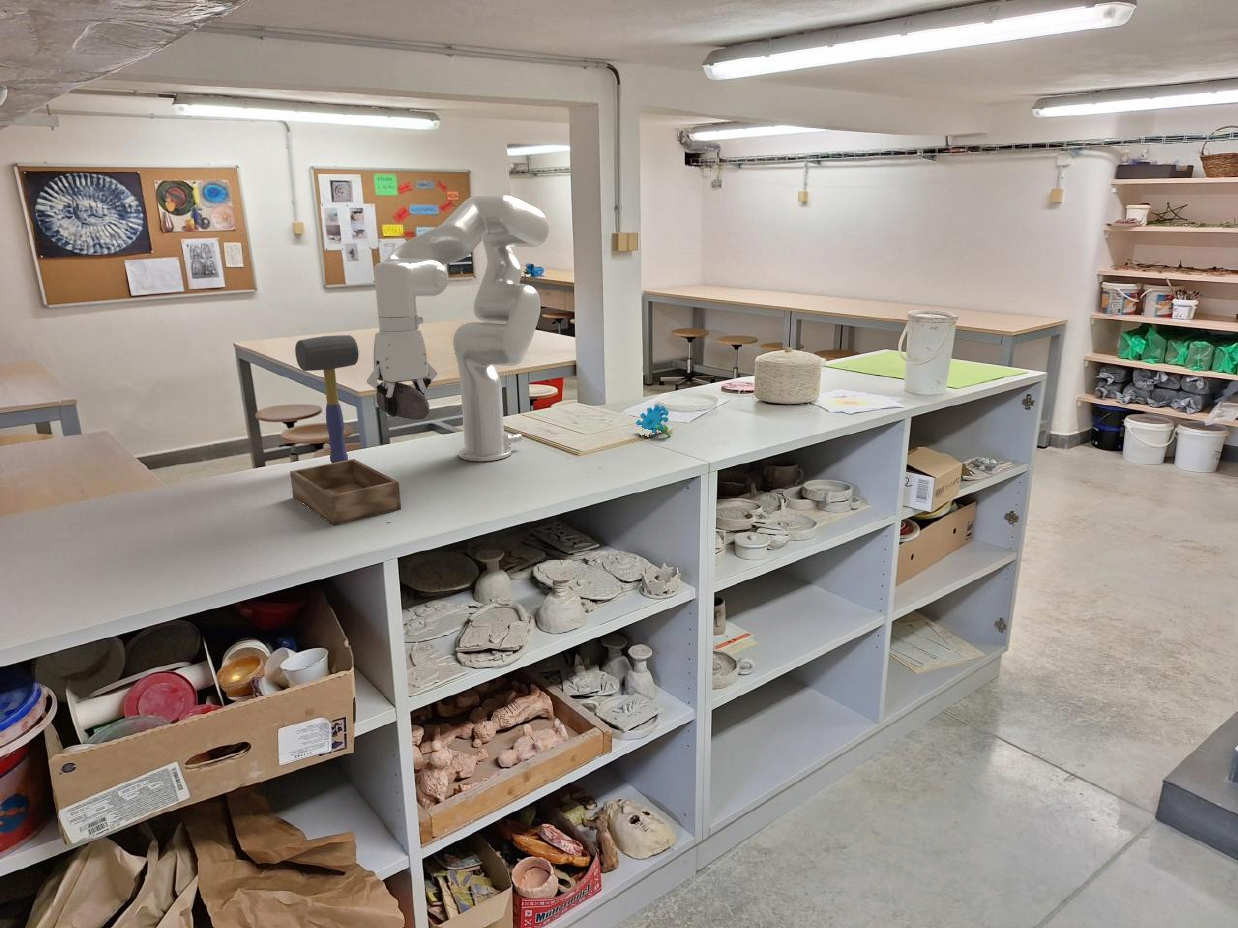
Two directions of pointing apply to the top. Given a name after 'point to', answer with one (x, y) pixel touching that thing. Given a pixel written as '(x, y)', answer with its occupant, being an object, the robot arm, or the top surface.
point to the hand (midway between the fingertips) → (405, 412)
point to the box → (345, 491)
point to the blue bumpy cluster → (655, 420)
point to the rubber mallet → (329, 379)
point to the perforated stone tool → (407, 402)
